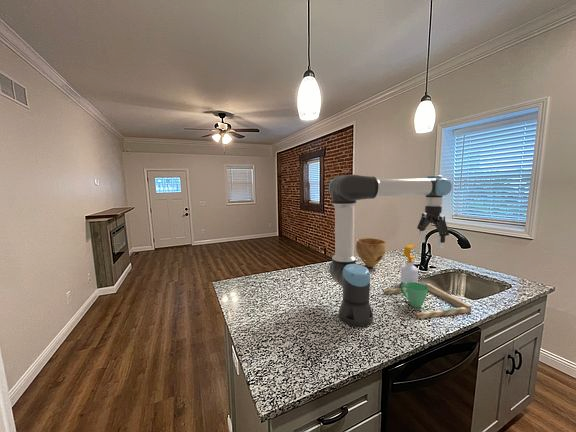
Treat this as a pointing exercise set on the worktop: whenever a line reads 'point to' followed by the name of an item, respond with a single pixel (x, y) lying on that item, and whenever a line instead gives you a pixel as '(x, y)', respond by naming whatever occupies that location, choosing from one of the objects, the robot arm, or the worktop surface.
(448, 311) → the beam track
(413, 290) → the mug
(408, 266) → the soap bottle
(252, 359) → the worktop surface
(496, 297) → the worktop surface
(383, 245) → the bowl
